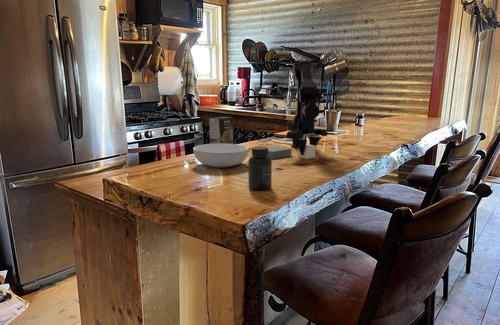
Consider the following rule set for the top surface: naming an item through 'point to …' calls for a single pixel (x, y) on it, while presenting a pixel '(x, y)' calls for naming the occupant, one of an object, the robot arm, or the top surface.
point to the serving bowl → (220, 154)
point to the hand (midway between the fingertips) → (306, 154)
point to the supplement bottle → (260, 169)
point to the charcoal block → (278, 152)
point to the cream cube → (308, 152)
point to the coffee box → (221, 130)
